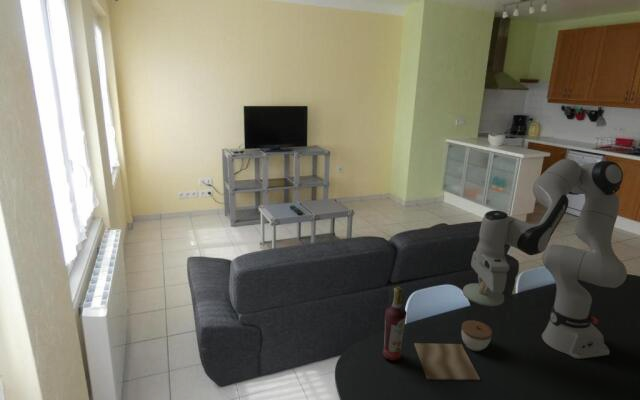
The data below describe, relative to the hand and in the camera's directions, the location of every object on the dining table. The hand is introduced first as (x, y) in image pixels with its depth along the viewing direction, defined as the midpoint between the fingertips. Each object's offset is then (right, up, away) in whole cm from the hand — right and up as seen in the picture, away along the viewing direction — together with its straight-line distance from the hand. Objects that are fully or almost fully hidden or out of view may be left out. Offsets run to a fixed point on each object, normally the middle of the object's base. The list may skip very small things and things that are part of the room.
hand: (483, 290), depth 139 cm
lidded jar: (-1, -23, +7) cm, 24 cm away
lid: (0, -2, +1) cm, 2 cm away
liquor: (-34, -24, 0) cm, 42 cm away
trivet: (-15, -25, -2) cm, 29 cm away
